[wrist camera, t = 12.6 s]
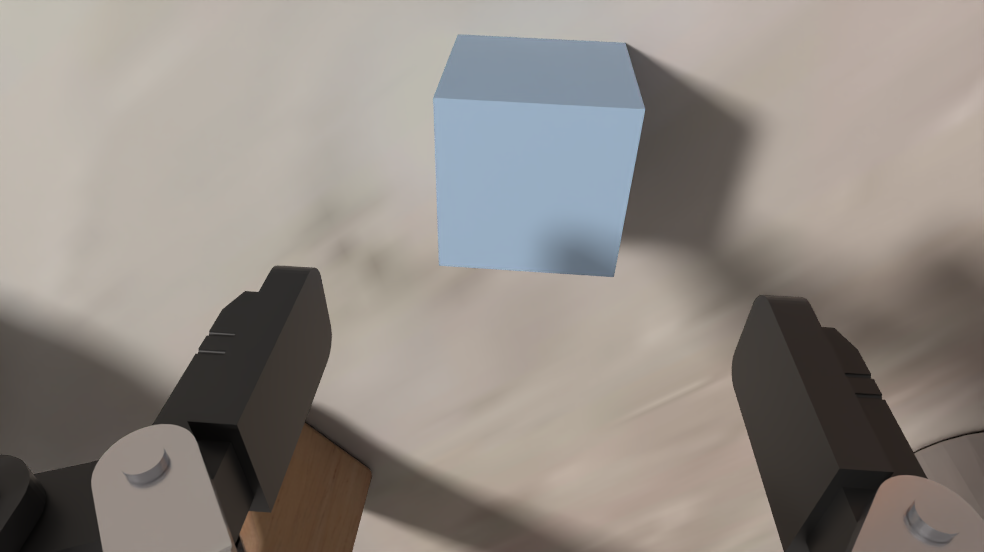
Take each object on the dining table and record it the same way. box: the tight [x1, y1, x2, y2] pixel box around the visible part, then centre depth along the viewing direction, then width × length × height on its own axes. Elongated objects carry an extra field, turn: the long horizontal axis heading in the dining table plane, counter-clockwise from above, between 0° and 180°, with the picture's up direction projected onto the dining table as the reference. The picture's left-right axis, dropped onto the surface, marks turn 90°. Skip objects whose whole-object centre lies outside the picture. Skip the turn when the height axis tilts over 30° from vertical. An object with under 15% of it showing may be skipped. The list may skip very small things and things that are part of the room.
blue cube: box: [433, 35, 645, 277], centre depth 18 cm, size 5×5×5 cm
